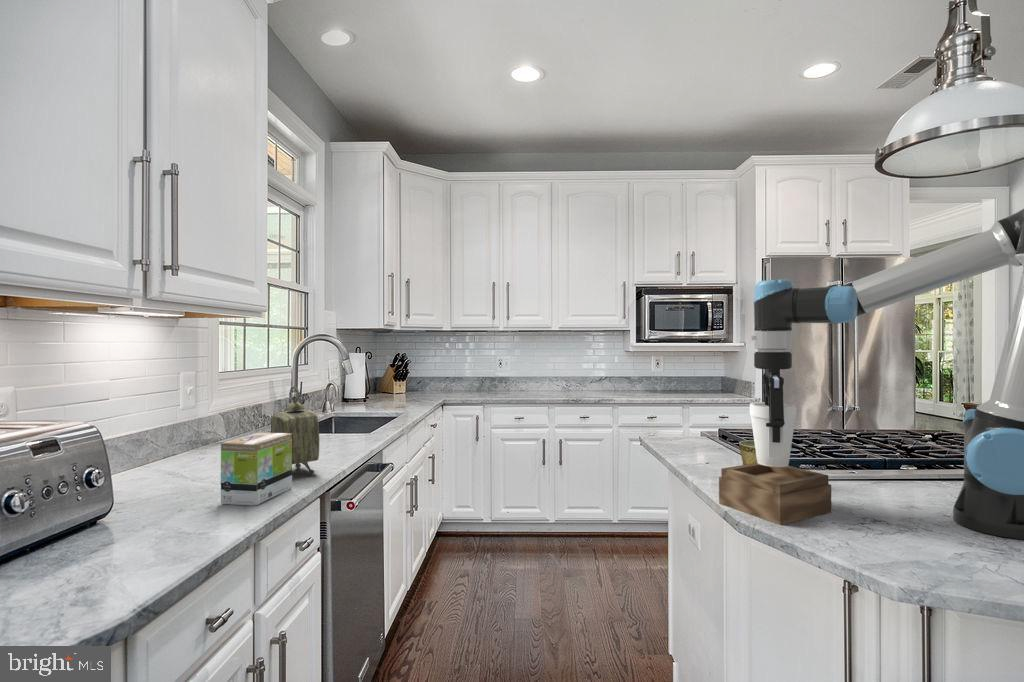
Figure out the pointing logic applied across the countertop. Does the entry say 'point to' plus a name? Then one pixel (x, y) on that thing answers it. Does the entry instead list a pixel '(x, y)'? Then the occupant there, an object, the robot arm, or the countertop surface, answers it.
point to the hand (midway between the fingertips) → (772, 452)
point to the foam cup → (760, 433)
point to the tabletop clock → (299, 431)
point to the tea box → (255, 468)
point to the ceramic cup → (748, 452)
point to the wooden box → (775, 492)
